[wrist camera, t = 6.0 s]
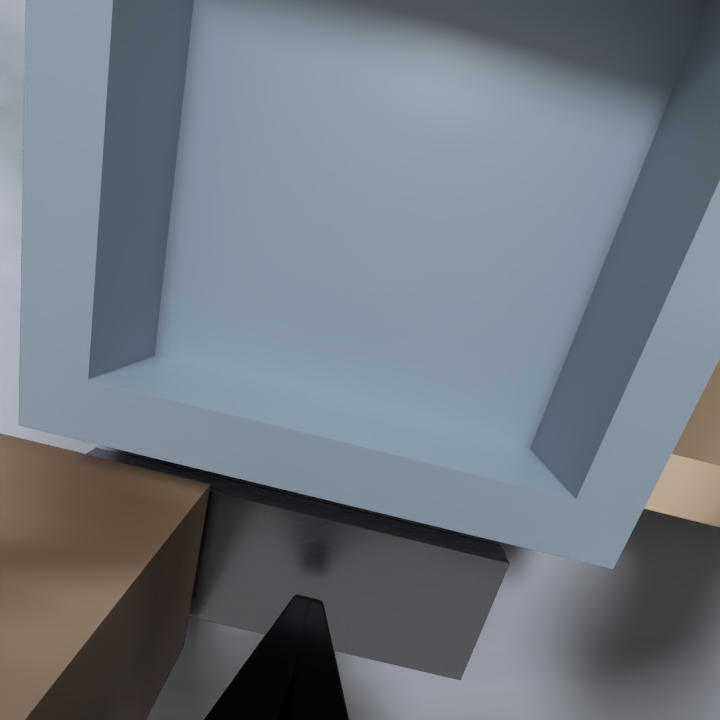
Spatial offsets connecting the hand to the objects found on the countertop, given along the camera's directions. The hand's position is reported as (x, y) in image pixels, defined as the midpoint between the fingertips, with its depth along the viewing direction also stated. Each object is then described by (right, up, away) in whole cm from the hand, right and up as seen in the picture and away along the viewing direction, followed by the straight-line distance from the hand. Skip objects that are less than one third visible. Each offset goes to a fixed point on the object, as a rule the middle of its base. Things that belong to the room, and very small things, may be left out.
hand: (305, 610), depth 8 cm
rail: (-1, +1, +1) cm, 2 cm away
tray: (+2, +9, -1) cm, 10 cm away
